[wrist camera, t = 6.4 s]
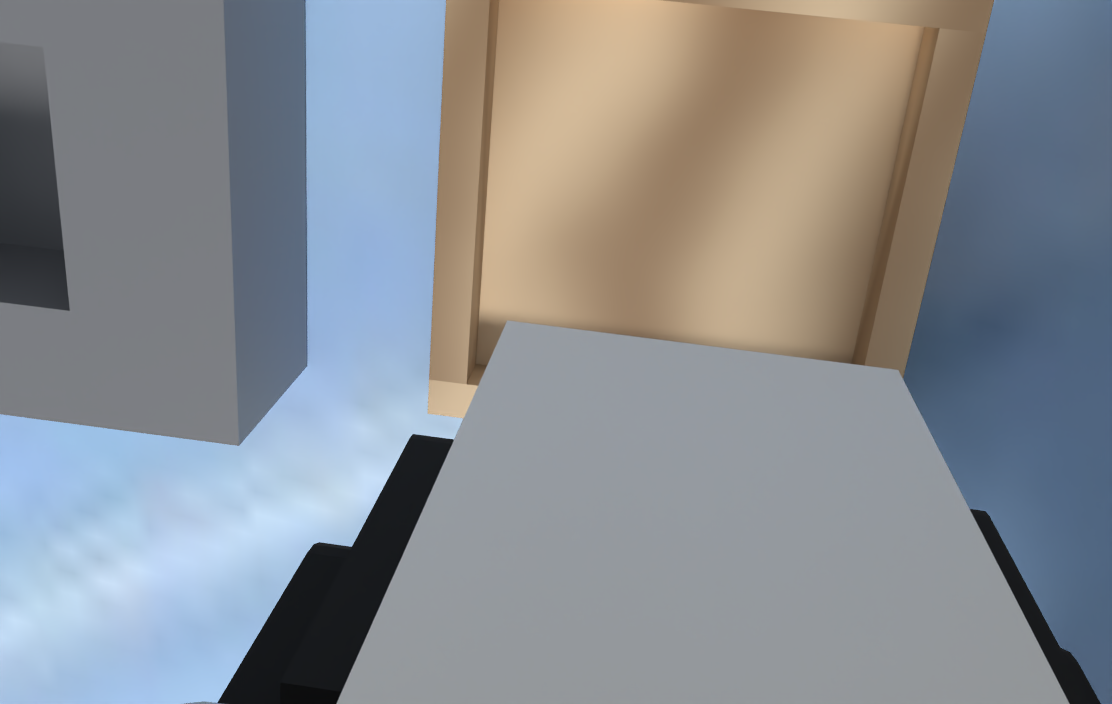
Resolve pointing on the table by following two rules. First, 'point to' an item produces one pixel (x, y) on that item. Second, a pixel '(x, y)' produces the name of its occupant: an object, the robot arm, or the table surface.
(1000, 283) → the table surface
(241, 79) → the block
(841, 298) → the tray
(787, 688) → the plug
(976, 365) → the table surface
